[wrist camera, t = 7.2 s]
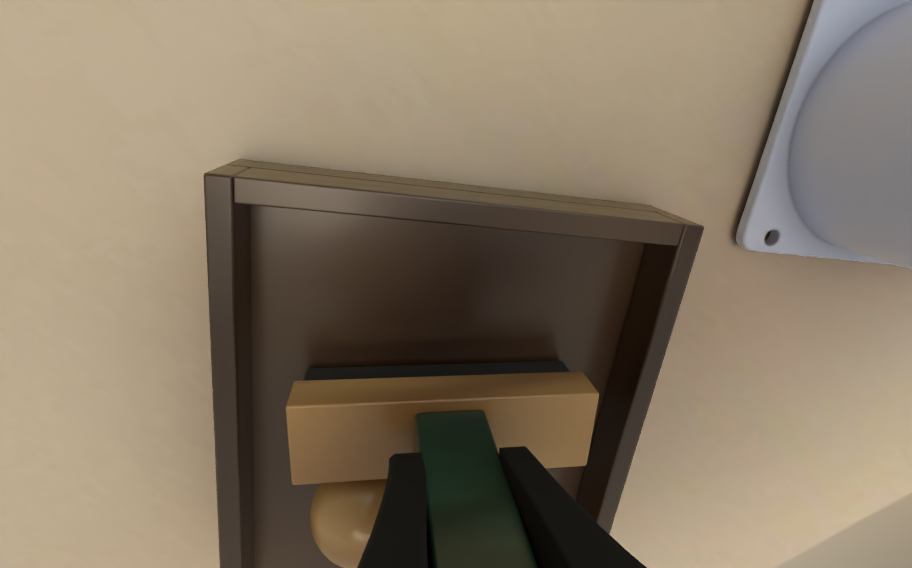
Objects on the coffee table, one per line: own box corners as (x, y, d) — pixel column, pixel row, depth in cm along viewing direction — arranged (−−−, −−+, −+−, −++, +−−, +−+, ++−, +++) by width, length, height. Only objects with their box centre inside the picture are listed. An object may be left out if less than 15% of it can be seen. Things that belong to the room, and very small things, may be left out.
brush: (570, 353, 15) (770, 617, 7) (560, 419, 16) (730, 718, 8) (298, 361, 14) (198, 689, 6) (303, 431, 14) (221, 798, 7)
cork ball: (426, 501, 13) (413, 595, 13) (417, 436, 15) (407, 517, 16) (305, 500, 12) (299, 598, 13) (319, 434, 15) (314, 517, 16)
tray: (651, 205, 15) (705, 226, 12) (559, 547, 20) (585, 612, 17) (237, 158, 13) (202, 172, 10) (244, 556, 17) (221, 633, 15)
